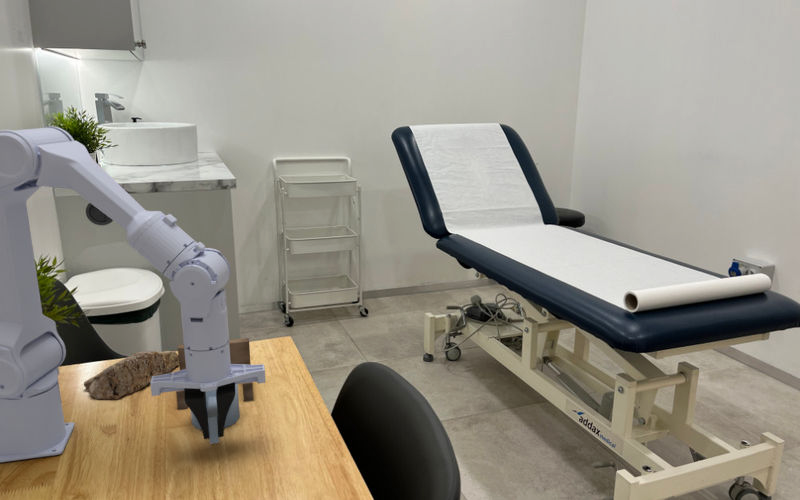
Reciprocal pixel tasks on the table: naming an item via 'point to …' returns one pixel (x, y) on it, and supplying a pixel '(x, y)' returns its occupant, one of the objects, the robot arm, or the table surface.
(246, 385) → the caddy
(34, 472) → the table surface
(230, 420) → the finned dome knob
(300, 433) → the table surface
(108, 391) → the rock
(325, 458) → the table surface
